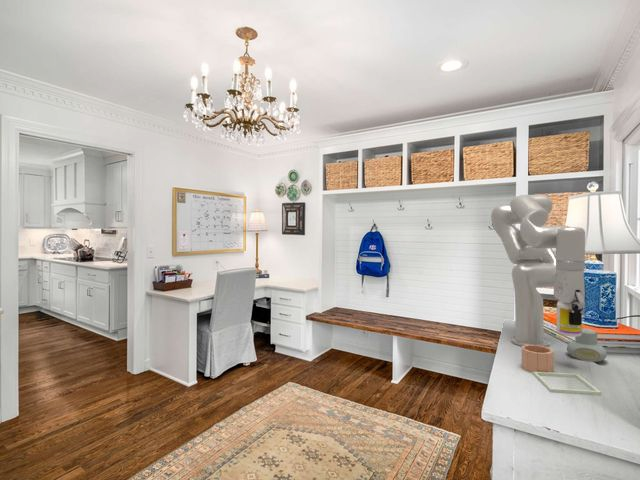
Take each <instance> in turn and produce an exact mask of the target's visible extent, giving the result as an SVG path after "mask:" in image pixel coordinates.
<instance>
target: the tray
mask: <svg viewBox="0 0 640 480" xmlns="http://www.w3.org/2000/svg"><path fill="white" fill-rule="evenodd" d="M532 375H533V376H534V377H535V378H536V380H538V381H539V382H540V383H541V384H542V385H543V386H544V387H545V388H546V389H547V390H548V391H549V392H550V393H557V394H573V395H588V396H589V395H590V396H602V391H601V390H599V389H598V388H596V387H595V386H594V385H592V383H590V382H589V381H587V380H586V378H584V377H582V376H581V375H580V374H578V373H569V372H568V373H567V372H566V373H565V372H564V373H563V372H553V373H549V372H532ZM542 376H543V377H557V378H559V377H560V378H573V379H574V378H575V379H577V380H579V381H580V382H581V383H582V384H584V385H585V386H586V387H587V388H589V389H590V390H589V389H588V390H587V389H574V388H573V389H571V388H558V387H557V388H555V387H552V386H551V385H550V384H549V383H548V382H547V381H546V380H545V379H544V378H543V377H542Z"/></svg>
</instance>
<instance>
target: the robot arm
mask: <svg viewBox="0 0 640 480" xmlns="http://www.w3.org/2000/svg"><path fill="white" fill-rule="evenodd" d="M553 207H554V206H553V201H552V199H551V198H550V197H549V196H548V195H546V194H523V195H522V194H520V195H518V196H515V197H513V198H512V199H511V201H510V202H509V204H501V205H498V206H496V207H494V208H493V209H492V212H491V215H490V220H491V224H492V227H493V229H494V232H495V233H496V234H497V235H498V237H499V239H500V241H501V242H502V244H503V247H504V250H505V251H506V255H507V257H508V259H509V261H510V262H511V263H512V264H514V266H513V268H512V270H511V278H512V283H513V289H514V290H513V291H514V311H515V312H514V313H515V314H514V317H515V318H514V319H515V335H514V336H512V337H511V343H512V344H515V345H517V346H519V347H520V346H521V347H522V346H524V345H539V346H544V347H547V348H548V347H549V346H550V345H549V341H548V340H546V339H544V336H545V335H544V334H545V333H544V332H545V331H544V330H545V329H544V325H545V324H544V299H543V296H542V295H541V293H540V292H539V291H538V290H537V288H553V297H554V298H555V299H556V300H557V302H556V304H557V303H558V302H559V301H562V302H564V303H569V306H570V311H571V312H569V324H570V325H581V317H582V318H583V309H584V307H585V305H586V303H585V302H586V301H585V291H586V290H585V278H584V272H585V271H586V270H585V269H586V267H585V265H586V262H585V261H586V254H585V253H586V231H585V229H584V228H582V227H580V226H579V227H578V226H573V227H572V226H568V225H549V226H548V225H546V226H545V224H546V223H547V222H548V220H549V214H550V213H551V212H552V210H553ZM514 224H515V225H519V224H520V226H519V228H518V227H516V226H514ZM553 249H555V251H554V250H553ZM572 301H577V302H572ZM573 305H575V307H573Z"/></svg>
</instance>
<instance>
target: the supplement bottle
mask: <svg viewBox="0 0 640 480" xmlns="http://www.w3.org/2000/svg"><path fill="white" fill-rule="evenodd" d="M557 302H558V301H557ZM557 302H556V332H557V333H558V334H559V335H562V336H565V337H572V338H573V337H578V336H581V335H582V328H583V316H582V317H581V325H570V324H569V312H571V311H570V306H569V303H564V302H562V301H559V302H558V303H557ZM572 302H577V301H572ZM573 307H575V305H573Z"/></svg>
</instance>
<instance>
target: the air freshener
mask: <svg viewBox="0 0 640 480" xmlns="http://www.w3.org/2000/svg"><path fill="white" fill-rule="evenodd" d="M566 351H567V353H568V354H569V355H570V356H571V357H572V358H575V359H577V360H580V361H585V362H591V363H592V362H593V363H599V362H602V361H604V360H605V359H606V358H607V355H608V353H607V352H608V351H607V350H606V349H605V347H604V346H602V345H601V344H599V343H598V333H597V331H596V330H594V329H590V328H584V327H582V335H581V336H578V337H575V340H573V341H571V342H568V344H567V345H566Z"/></svg>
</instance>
